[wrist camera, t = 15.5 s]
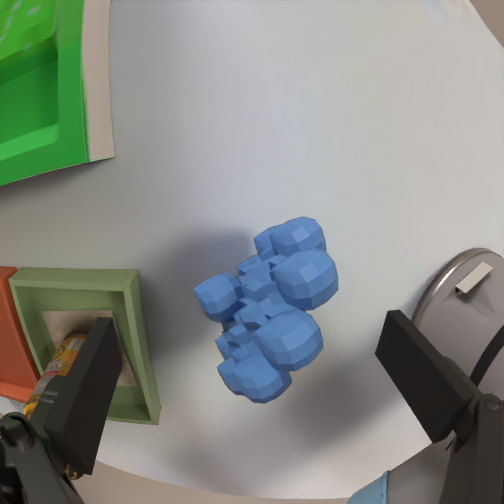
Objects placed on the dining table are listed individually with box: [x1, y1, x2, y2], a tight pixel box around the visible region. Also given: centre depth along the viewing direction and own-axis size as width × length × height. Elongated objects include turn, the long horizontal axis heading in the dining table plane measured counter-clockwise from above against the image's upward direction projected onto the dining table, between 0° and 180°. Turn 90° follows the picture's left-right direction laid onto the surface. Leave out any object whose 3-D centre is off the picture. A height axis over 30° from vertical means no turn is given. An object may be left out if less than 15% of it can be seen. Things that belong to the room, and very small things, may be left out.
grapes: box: [193, 217, 338, 404], centre depth 17 cm, size 12×7×12 cm, turn 159°
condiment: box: [24, 310, 138, 480], centre depth 18 cm, size 7×8×12 cm
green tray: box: [8, 267, 161, 425], centre depth 23 cm, size 11×15×2 cm
